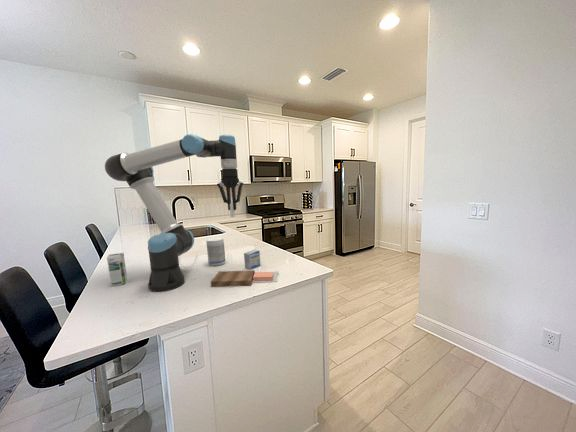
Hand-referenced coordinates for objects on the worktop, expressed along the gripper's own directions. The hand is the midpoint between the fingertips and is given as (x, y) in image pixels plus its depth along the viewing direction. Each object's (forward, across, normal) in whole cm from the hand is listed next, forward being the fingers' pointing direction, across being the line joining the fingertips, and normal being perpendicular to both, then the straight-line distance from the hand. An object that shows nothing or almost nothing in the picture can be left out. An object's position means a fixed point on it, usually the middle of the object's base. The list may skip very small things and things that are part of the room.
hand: (232, 216), depth 117 cm
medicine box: (+30, +7, +8) cm, 32 cm away
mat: (+29, +16, -7) cm, 34 cm away
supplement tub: (+30, -15, +15) cm, 36 cm away
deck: (+29, +1, -10) cm, 31 cm away
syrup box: (+30, -55, -9) cm, 63 cm away
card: (+29, +15, -9) cm, 34 cm away
